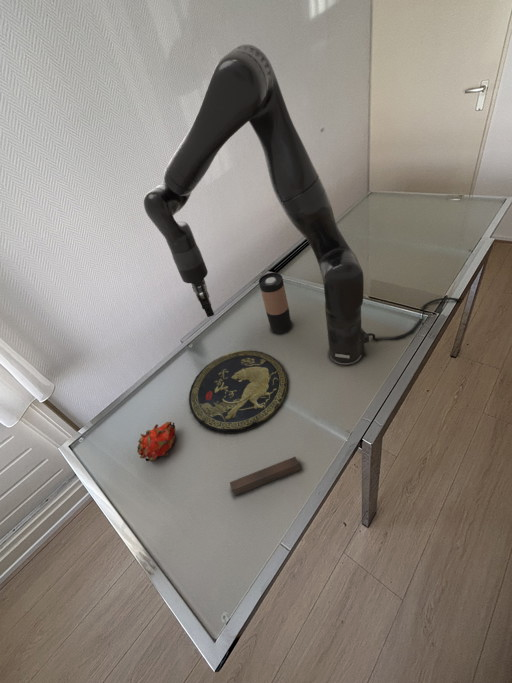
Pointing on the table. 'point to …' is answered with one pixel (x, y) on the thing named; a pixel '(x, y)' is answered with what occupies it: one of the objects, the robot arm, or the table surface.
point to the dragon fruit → (156, 441)
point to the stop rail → (264, 476)
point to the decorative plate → (238, 391)
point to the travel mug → (275, 302)
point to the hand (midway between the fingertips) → (209, 310)
